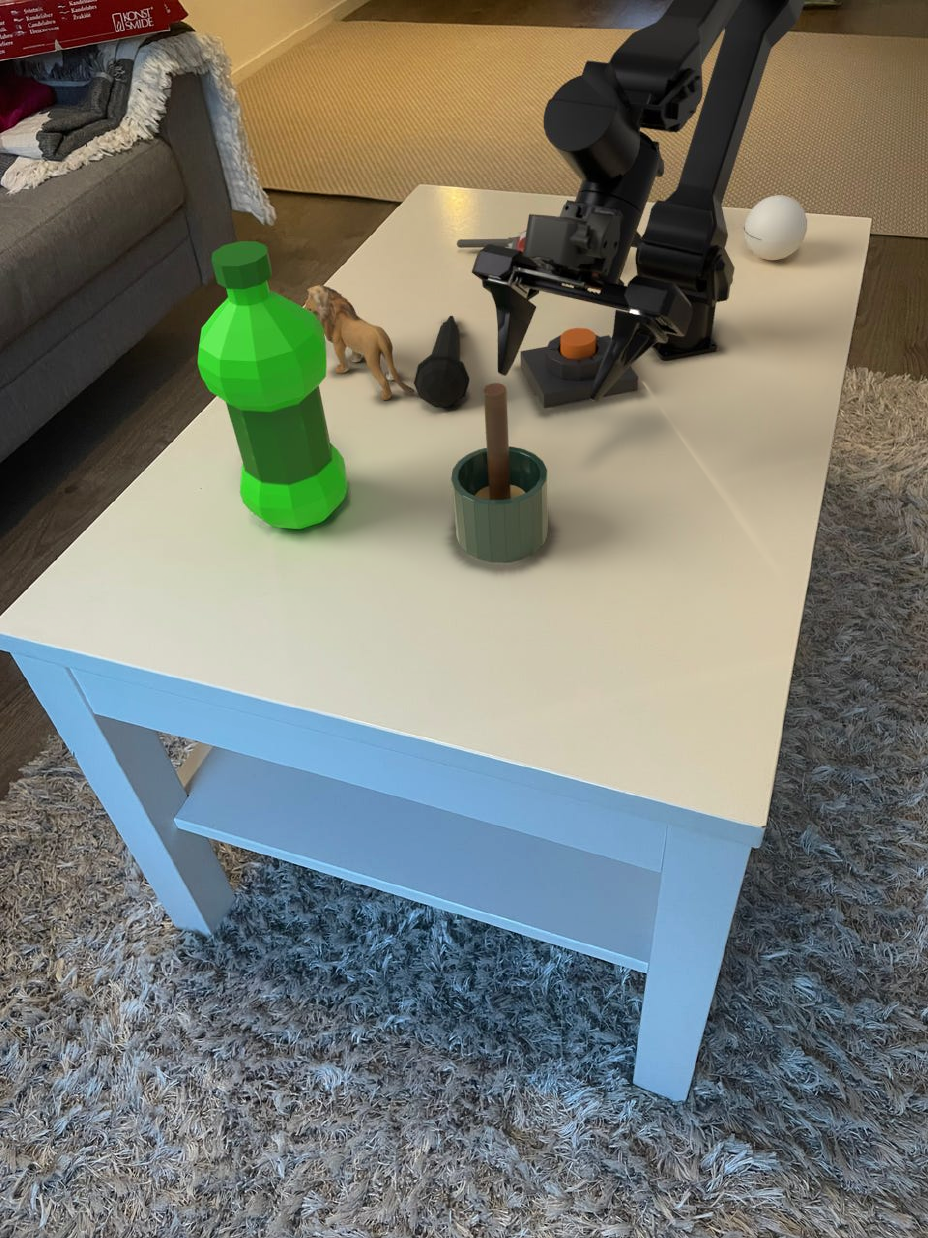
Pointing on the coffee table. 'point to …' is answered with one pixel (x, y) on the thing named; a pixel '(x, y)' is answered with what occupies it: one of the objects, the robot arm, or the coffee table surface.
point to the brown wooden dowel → (497, 445)
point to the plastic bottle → (272, 392)
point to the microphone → (443, 370)
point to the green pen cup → (500, 508)
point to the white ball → (775, 227)
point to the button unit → (569, 374)
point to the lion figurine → (353, 336)
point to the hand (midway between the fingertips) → (546, 387)
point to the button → (578, 343)
